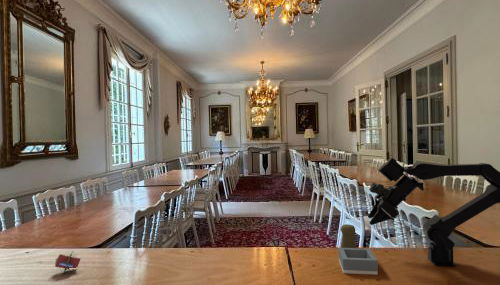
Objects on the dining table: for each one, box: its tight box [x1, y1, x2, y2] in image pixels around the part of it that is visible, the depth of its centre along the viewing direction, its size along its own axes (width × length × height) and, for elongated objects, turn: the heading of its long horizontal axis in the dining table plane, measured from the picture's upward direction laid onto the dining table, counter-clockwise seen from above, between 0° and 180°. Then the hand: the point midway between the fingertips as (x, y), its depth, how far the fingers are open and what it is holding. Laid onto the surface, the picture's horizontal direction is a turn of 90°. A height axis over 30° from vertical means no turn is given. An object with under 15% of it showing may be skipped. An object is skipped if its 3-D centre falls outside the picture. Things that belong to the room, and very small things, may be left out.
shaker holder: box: [338, 247, 379, 275], centre depth 103 cm, size 11×11×4 cm
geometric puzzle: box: [54, 251, 81, 271], centre depth 105 cm, size 7×7×8 cm
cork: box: [340, 223, 357, 248], centre depth 114 cm, size 6×6×11 cm
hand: (369, 220), depth 111 cm, fingers open, 9 cm apart
